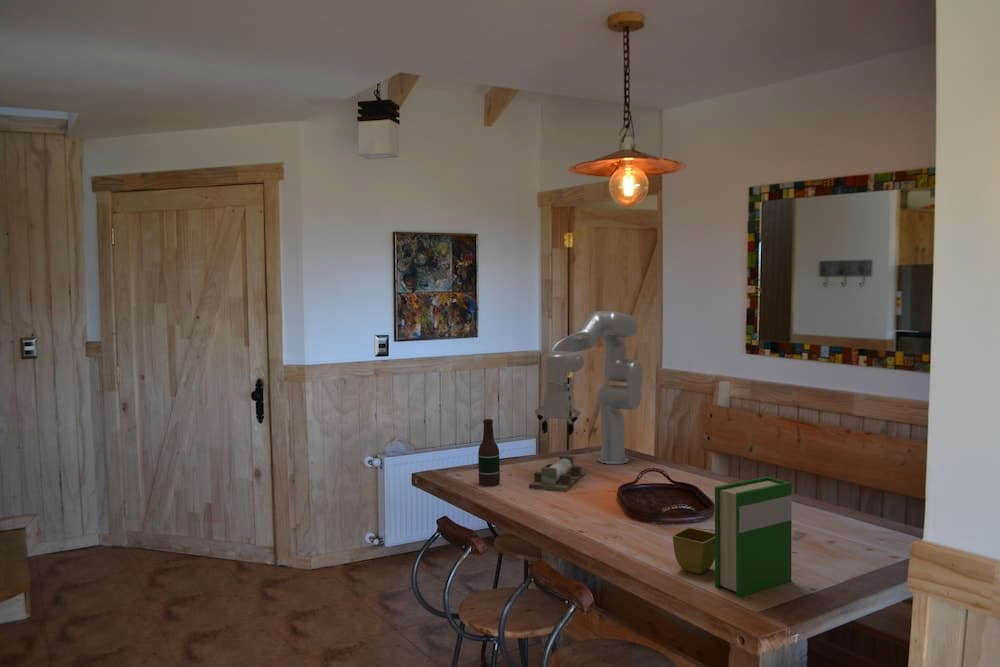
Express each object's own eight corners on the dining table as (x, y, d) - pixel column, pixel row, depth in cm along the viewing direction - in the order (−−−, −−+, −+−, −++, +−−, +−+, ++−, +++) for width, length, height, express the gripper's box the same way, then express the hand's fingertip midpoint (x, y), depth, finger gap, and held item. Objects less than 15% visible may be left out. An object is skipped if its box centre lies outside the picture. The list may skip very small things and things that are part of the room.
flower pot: (720, 569, 191) (720, 533, 190) (704, 579, 184) (704, 542, 184) (688, 561, 197) (688, 527, 196) (671, 570, 190) (671, 535, 190)
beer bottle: (499, 486, 275) (498, 421, 274) (478, 487, 276) (476, 421, 274) (500, 481, 283) (498, 417, 282) (479, 481, 283) (478, 417, 282)
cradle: (551, 472, 295) (550, 453, 295) (585, 475, 290) (585, 456, 289) (528, 488, 272) (528, 468, 272) (566, 491, 267) (565, 470, 266)
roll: (558, 472, 289) (557, 458, 289) (572, 473, 287) (571, 458, 287) (544, 482, 274) (543, 467, 274) (559, 483, 272) (558, 468, 272)
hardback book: (739, 597, 173) (739, 493, 172) (715, 587, 179) (714, 486, 178) (791, 581, 182) (791, 482, 181) (766, 572, 188) (766, 476, 187)
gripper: (582, 386, 279) (583, 432, 280) (538, 385, 286) (538, 430, 287) (576, 389, 272) (577, 436, 273) (531, 387, 279) (532, 434, 280)
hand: (557, 433), depth 280 cm, fingers open, 9 cm apart
